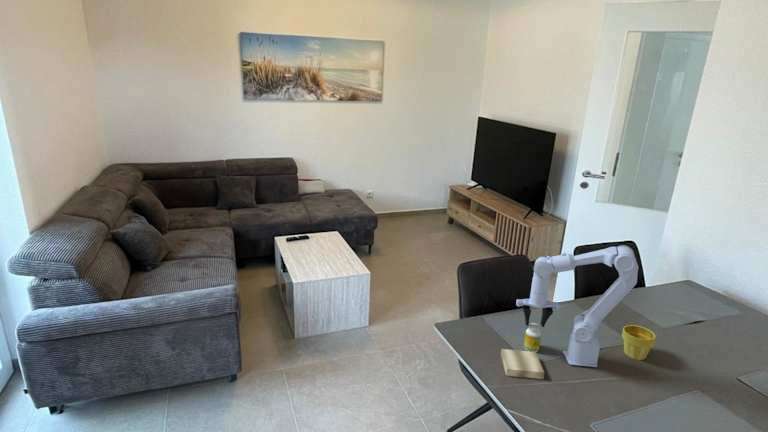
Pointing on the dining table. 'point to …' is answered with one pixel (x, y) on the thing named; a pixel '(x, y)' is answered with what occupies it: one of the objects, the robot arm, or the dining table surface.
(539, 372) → the oak riser
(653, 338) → the plant pot
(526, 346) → the supplement bottle
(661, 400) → the dining table surface
